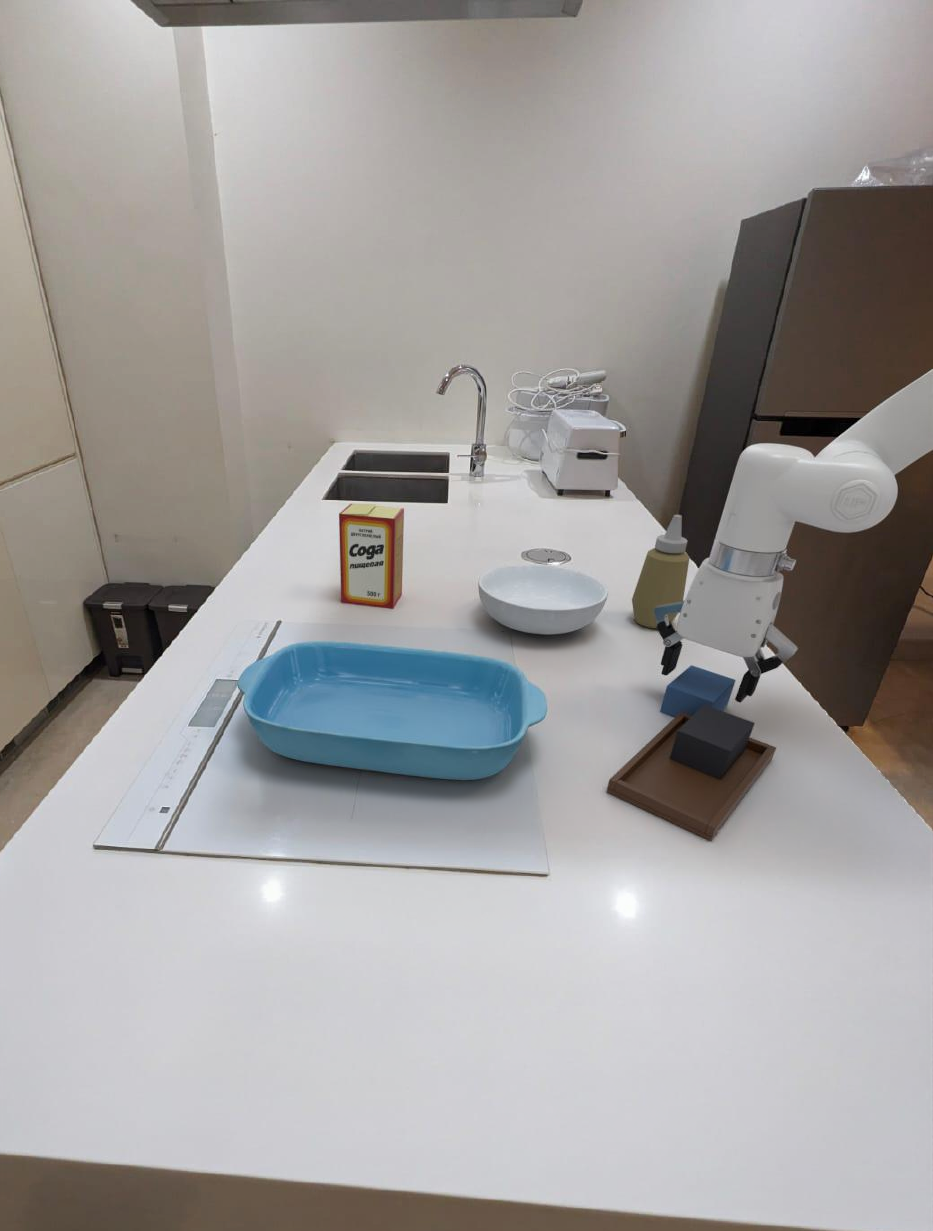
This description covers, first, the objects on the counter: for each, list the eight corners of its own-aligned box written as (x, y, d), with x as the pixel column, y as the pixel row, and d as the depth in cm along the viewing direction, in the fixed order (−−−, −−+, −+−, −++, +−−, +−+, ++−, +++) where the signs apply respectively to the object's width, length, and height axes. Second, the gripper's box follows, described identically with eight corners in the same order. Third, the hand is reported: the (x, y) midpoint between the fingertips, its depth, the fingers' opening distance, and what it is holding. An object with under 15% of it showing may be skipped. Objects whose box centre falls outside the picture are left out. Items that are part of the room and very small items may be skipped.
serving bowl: (621, 620, 114) (629, 582, 111) (563, 663, 101) (571, 621, 97) (515, 589, 125) (519, 553, 122) (450, 625, 112) (453, 585, 108)
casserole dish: (537, 702, 91) (544, 655, 87) (542, 808, 72) (552, 753, 68) (273, 678, 95) (269, 632, 91) (214, 771, 76) (206, 718, 73)
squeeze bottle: (628, 629, 111) (652, 520, 102) (626, 610, 118) (648, 507, 108) (679, 635, 110) (709, 525, 100) (674, 615, 116) (701, 511, 107)
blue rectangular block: (727, 705, 91) (735, 679, 89) (704, 728, 86) (713, 702, 84) (684, 690, 94) (691, 664, 92) (659, 711, 89) (666, 685, 87)
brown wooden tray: (772, 759, 81) (776, 747, 80) (710, 841, 68) (715, 828, 67) (677, 723, 87) (681, 711, 86) (606, 792, 75) (609, 779, 74)
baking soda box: (401, 594, 122) (404, 506, 114) (393, 608, 117) (394, 516, 108) (351, 589, 124) (350, 501, 116) (341, 602, 119) (338, 511, 110)
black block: (744, 750, 81) (754, 722, 79) (720, 780, 76) (730, 751, 74) (695, 731, 84) (704, 704, 82) (669, 758, 79) (677, 730, 77)
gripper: (834, 569, 76) (782, 698, 86) (685, 534, 86) (653, 653, 95) (816, 586, 72) (763, 721, 81) (660, 547, 81) (629, 671, 90)
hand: (703, 684), depth 88 cm, fingers open, 9 cm apart
